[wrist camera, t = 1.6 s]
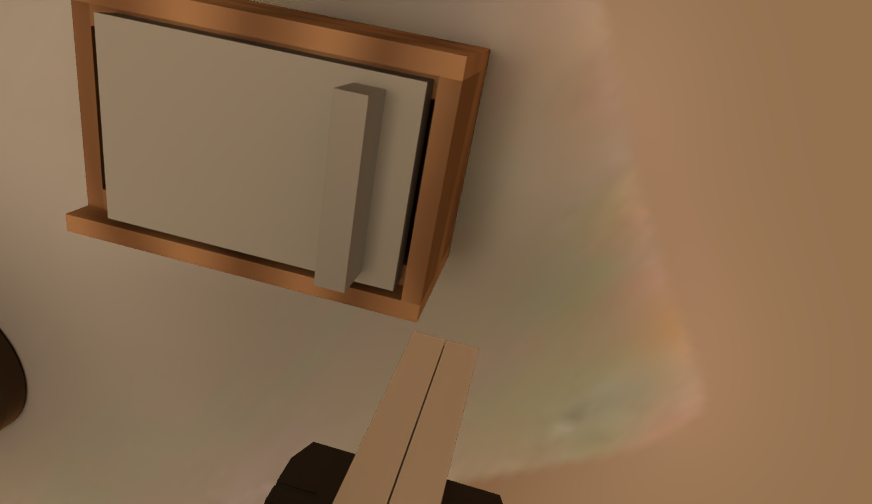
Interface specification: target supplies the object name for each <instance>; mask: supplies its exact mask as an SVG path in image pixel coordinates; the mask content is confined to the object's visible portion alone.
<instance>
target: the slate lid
mask: <svg viewBox="0 0 872 504" xmlns="http://www.w3.org/2000/svg"><path fill="white" fill-rule="evenodd" d="M94 25H95V39H96V53H97V68H98V82H99V96H100V111H101V125H102V139H103V154H104V168H105V183H106V197H107V211H108V218H110V219H114V220H117V221H121V222H125V223H129V224H133V225H137V226H141V227H145V228H149V229H152V230H156V231H160V232H164V233H168V234H172V235H176V236H180V237H184V238H187V239H191V240H195V241H199V242H203V243H207V244H211V245H215V246H219V247H222V248H226V249H230V250H234V251H238V252H242V253H246V254H250V255H254V256H257V257H261V258H265V259H269V260H273V261H277V262H281V263H285V264H289V265H293V266H296V267H300V268H304V269H308V270H312V271H315V277H314V285H315V286H319V287H322V288H326V289H330V290H334V291H338V292H342V293H345V292H346V290H347V289H348V288H349V287H350V285H351V284H352V283H353V282H354V281H355V282H359V283H363V284H366V285H370V286H374V287H378V288H382V289H386V290H390V291H393V290H394V289H395V287H396V286H397V284H398V282H399V281H400V279H401V274H402V268H403V262H404V256H405V250H406V244H407V238H408V232H409V226H410V220H411V214H412V208H413V202H414V197H415V191H416V185H417V179H418V173H419V167H420V161H421V155H422V149H423V143H424V137H425V131H426V125H427V120H428V114H429V108H430V102H431V96H432V90H433V84H434V79H430V78H425V77H421V76H416V75H411V74H406V73H402V72H397V71H392V70H387V69H382V68H378V67H373V66H368V65H363V64H359V63H354V62H349V61H344V60H340V59H335V58H330V57H325V56H320V55H316V54H311V53H306V52H301V51H297V50H292V49H287V48H282V47H278V46H273V45H268V44H263V43H258V42H254V41H249V40H244V39H239V38H235V37H230V36H225V35H220V34H216V33H211V32H206V31H201V30H196V29H192V28H187V27H182V26H177V25H173V24H168V23H163V22H158V21H153V20H149V19H144V18H139V17H134V16H130V15H125V14H120V13H107V12H94Z"/></svg>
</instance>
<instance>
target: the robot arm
mask: <svg viewBox="0 0 872 504" xmlns="http://www.w3.org/2000/svg"><path fill="white" fill-rule="evenodd" d="M444 344H445V340H444V339H441V338H437V337H433V336H429V335H426V334H422V333H418V332H413V334H412V336H411V339H410V341H409V343H408V345H407V347H406V349H405V351H404V353H403V355H402V358H401V360H400V362H399V364H398V366H397V368H396V370H395V372H394V375H393V377H392V379H391V381H390V383H389V385H388V387H387V389H386V391H385V394H384V396H383V398H382V400H381V402H380V404H379V406H378V408H377V410H376V413H375V415H374V417H373V419H372V421H371V423H370V425H369V427H368V430H367V432H366V434H365V436H364V438H363V440H362V442H361V444H360V446H359V449H358V451H357V453H356V454H353V453H350V452H346V451H343V450H339V449H336V448H333V447H329V446H326V445H323V444H319V443H316V442H313V443H311V444H310V445H309V446H307V447H306V448H304V449H303V450H302V451H300V452H299V453H298V454H296V455H295V456H294V457H292V458H291V459H290V461H289V463H288V464H287V466H286V467H285V469H284V471H283V472H282V474H281V475H280V477H279V479H278V480H277V483H276V485H275V486H274V487H273V488H272V490H271V492H270V493H269V495H268V496H267V498H266V500H265V503H264V504H503V503H502V500H501V497H500V495H497V494H494V493H491V492H487V491H484V490H481V489H477V488H474V487H471V486H467V485H464V484H460V483H457V482H454V481H450V480H447V476H448V472H449V468H450V464H451V460H452V456H453V452H454V448H455V444H456V440H457V435H458V431H459V427H460V423H461V419H462V415H463V411H464V407H465V403H466V399H467V395H468V391H469V386H470V382H471V378H472V374H473V370H474V366H475V362H476V358H477V354H478V350H479V349H478V348H474V347H471V346H467V345H463V344H459V343H456V342H452V341H448V340H447V341H446V344H445V347H444ZM24 402H25V381H24V377H23V373H22V370H21V367H20V364H19V362H18V360H17V358H16V355H15V354H14V352H13V350H12V348H11V347H10V345H9V344H8V342H7V341H6V339H5V338H4V336H3V335H2V334H1V333H0V430H1V429H3V428H4V427H6V426H7V425H8V424H10V423H11V422H12V421H14V420H15V419H16V418H17V417H18V415H19V414H20V412H21V410H22V408H23V405H24Z"/></svg>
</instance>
